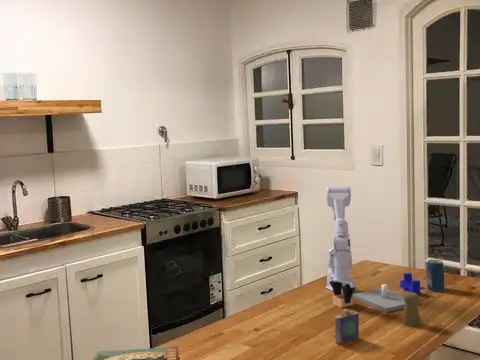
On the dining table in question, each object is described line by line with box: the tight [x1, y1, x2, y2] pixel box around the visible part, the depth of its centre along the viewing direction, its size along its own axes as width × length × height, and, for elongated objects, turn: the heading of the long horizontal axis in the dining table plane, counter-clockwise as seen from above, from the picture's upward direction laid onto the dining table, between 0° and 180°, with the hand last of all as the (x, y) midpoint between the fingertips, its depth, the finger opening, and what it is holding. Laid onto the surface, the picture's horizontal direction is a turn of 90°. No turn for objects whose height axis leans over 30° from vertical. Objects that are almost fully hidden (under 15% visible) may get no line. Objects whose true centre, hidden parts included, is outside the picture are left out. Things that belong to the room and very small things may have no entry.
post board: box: [352, 283, 419, 313], centre depth 220 cm, size 20×16×6 cm
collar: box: [332, 293, 354, 308], centre depth 219 cm, size 6×6×3 cm
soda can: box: [426, 259, 445, 292], centre depth 231 cm, size 7×7×12 cm
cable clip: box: [399, 272, 421, 296], centre depth 232 cm, size 12×4×6 cm, turn 1°
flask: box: [334, 307, 360, 345], centre depth 184 cm, size 9×3×11 cm, turn 117°
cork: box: [402, 291, 421, 328], centre depth 196 cm, size 6×6×11 cm
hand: (342, 300), depth 219 cm, fingers closed on collar, 6 cm apart
